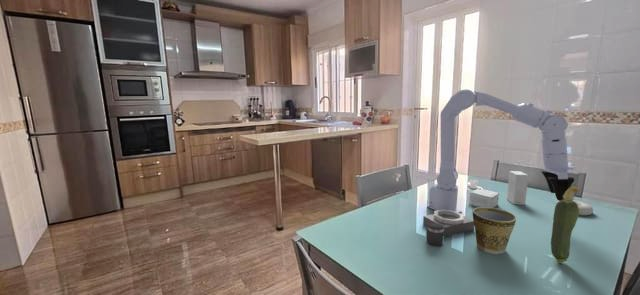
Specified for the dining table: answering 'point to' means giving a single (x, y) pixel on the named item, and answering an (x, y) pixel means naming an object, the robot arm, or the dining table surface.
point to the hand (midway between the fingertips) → (558, 196)
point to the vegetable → (564, 225)
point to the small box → (483, 198)
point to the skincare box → (517, 187)
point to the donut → (583, 208)
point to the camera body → (450, 221)
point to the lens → (435, 234)
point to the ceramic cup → (493, 228)
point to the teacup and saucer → (472, 184)
